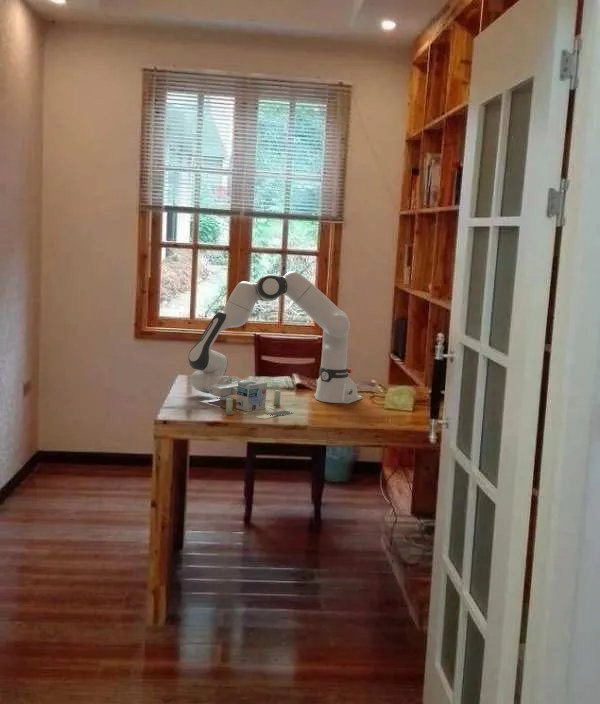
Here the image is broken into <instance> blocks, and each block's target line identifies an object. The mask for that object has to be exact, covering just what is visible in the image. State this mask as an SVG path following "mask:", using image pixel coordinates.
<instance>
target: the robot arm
mask: <svg viewBox="0 0 600 704" xmlns="http://www.w3.org/2000/svg"><path fill="white" fill-rule="evenodd" d="M282 295H283V296H286V297H288V298H289V299H290V300H291V301H293V303H295V305H296V306H298V307H299V308H300V309H301V310H302V311H303V312H304V313H306V314H307V316H308V317H310V318H311V319H312V321H314V322H315V323H316V324H317V325H318V326H319V327H320V328H321V329H322V345H321V347H322V349H321V363H320V364H321V365H320V367H319V377H318V379H317V384H316V389H315V390H316V391H315V393H314V394H313V397H314V399H315V400H317V401H320V402H323V403H332V404H351V403H354V402H357V401H359V400H362V399H363V396H362V395H360V394H358V386H357V384H356V383H355V381H353V380H352V379H351V378H350V377H349V374H352V373H353V369H352V368H347V367H348V366H347V365H348V351H349V347H348V346H349V332H350V330H351V320H350V318H349V316H348V314H347V313H346V312H345V311H343V310H341V309H340V308H339V307H338V306H337V305H336V304H335V303H334V302H333V301H331V299H330V298H329V297H327V296H326V295H325V294H324V293H323V292H322V291H321V290H320V289H319V288H317V287H316V286H315V284H313V283H312V282H311V281H310V280H309V279H307V278H306V277H305V276H304V275H302V274H300V273H299V272H298V271H295V270H291V271H288V272H287V273H285V274H284V275H283V276H282V275H277V274H272V273H271V274H269V273H268V274H265V275H262V276H260V278H259V279H258V280H256V282H254V283H252V282H250V281H245V280H243V281H240V282H238V283H237V285H236V286H235V288H234V289H233V291H232V292H231V294H230V296H229V297H228V299H227V302H226V304H225V306H224V307H223V308H222V309H221V310H220V311H218V312H217V313H215V314H214V316H212V318H211V319H210V321H209V323H208V324H207V326H206V328H205V329H204V331H203V332H202V334H201V335H200V338H199V339H198V341H197V342H196V344H195V345H194V346H193V347H191V349H190V351H189V353H188V355H187V356H188V359H187V360H188V363H189V366H190V368H192V369H194V370H196V371H194V372H193V373H191V375H190V384H191V386H192V387H193V389H194V390H196V391H199V392H200V393H204V394H209V395H212V396H214V397H217V398H218V397H226V396H233V395H237V391H238V382H244V381H247V380H246V379H242V378H239V376H228V375H225V374H226V372H227V369H228V365H229V363H228V358H227V356H226V355H225V354H223V353H221V352H218V351H217V350H213V349H212V346H213V344H214V343H215V342H216V340H217V339H218V338H217V337H219V334H220V333H221V332H222V331H224V330H226V329H231V328H239V327H241V326H243V325H245V324H246V323H247V322H248V320H249V318H250V316H251V314H252V311H253V309H254V307H255V305H256V304H257V302H258V301H262V302H272V301H275V300H277V299H278V298H279V297H281V296H282Z"/></svg>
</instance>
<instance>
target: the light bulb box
mask: <svg viewBox="0 0 600 704" xmlns="http://www.w3.org/2000/svg"><path fill="white" fill-rule="evenodd" d="M267 388H268V383H267V382H266V381H262V380H258V379H251V380H246V381H244V382H238V391H237V394H236V398H237V400H236V407H235V408H236V409H238V410H242V411H243V412H246V413H247V412H252V411H259V410H264V409H266V407H265V406H266V404H267V403H266V401H267V400H266V399H267V390H268V389H267Z"/></svg>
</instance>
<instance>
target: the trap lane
mask: <svg viewBox="0 0 600 704" xmlns="http://www.w3.org/2000/svg"><path fill="white" fill-rule="evenodd" d="M281 392H282V391H281V390H276V389H275V390H274V398H273V399H274V401H273V405H274V406H276V407H277V406H278V407H279V406H280V405H281ZM216 398H217V399H218V397H216ZM219 399H220V401H219V402H221V400H223V401H226V403H225V407H226V409H225V415H226V414H227V416H232V415H233V411H232V409H233V404H234V403H233V401H234V400H235V401H237V397H233V396H231V395H228V396H226V397H220V398H219ZM266 407H267V409H271V410H276V407H273V406H269V405H265V408H266ZM290 412H291V414H293V413H292V412H293V411H288V410H279V411H275V412H270V414H271V415H272V416H273V415H276V416H277V415H278V416H277V417H281V414H282V416H285V415H286V414H287V415H290V414H289V413H290ZM272 413H273V414H272ZM231 414H232V415H231ZM266 414H267V415H268V414H269V413H266ZM284 414H285V415H284ZM271 415H270V416H271ZM279 415H280V416H279Z"/></svg>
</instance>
